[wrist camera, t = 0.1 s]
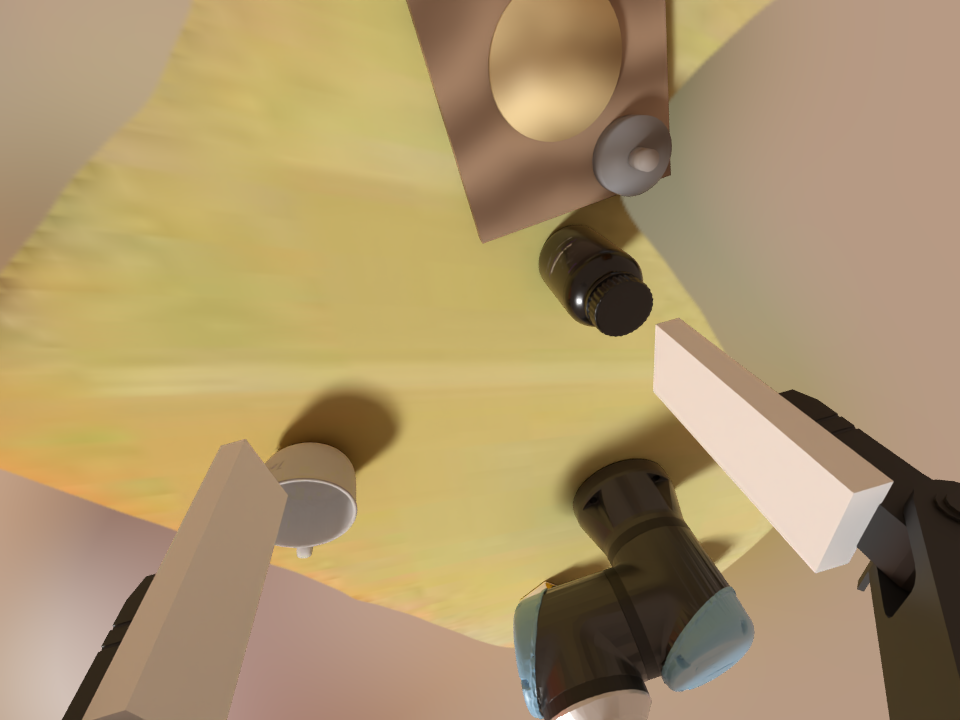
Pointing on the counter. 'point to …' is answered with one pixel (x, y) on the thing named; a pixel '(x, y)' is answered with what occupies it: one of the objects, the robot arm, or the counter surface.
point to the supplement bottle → (595, 280)
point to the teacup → (314, 495)
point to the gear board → (548, 101)
